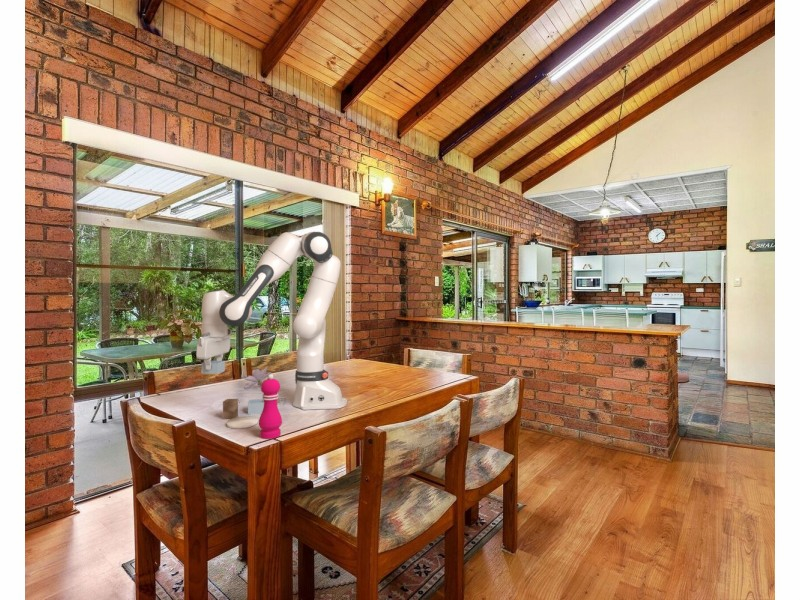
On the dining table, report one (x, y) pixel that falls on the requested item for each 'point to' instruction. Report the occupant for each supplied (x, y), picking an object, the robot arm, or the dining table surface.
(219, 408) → the dining table surface
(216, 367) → the sleeve
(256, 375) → the water lily
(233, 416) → the walnut block
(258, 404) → the sleeve
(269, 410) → the pepper mill
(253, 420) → the plate
